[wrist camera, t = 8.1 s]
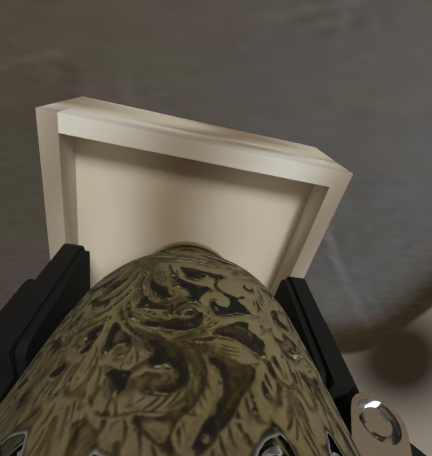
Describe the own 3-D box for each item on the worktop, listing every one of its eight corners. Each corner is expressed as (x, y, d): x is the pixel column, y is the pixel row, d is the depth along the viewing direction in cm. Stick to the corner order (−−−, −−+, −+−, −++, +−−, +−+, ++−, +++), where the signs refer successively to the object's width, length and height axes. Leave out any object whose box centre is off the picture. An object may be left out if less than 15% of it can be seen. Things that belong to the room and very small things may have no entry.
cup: (165, 353, 14) (129, 648, 7) (48, 249, 10) (-265, 621, 3) (306, 291, 12) (450, 597, 5) (220, 143, 9) (296, 447, 2)
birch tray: (315, 147, 13) (353, 174, 10) (253, 306, 18) (265, 359, 14) (83, 96, 11) (35, 107, 8) (86, 284, 16) (57, 338, 13)
